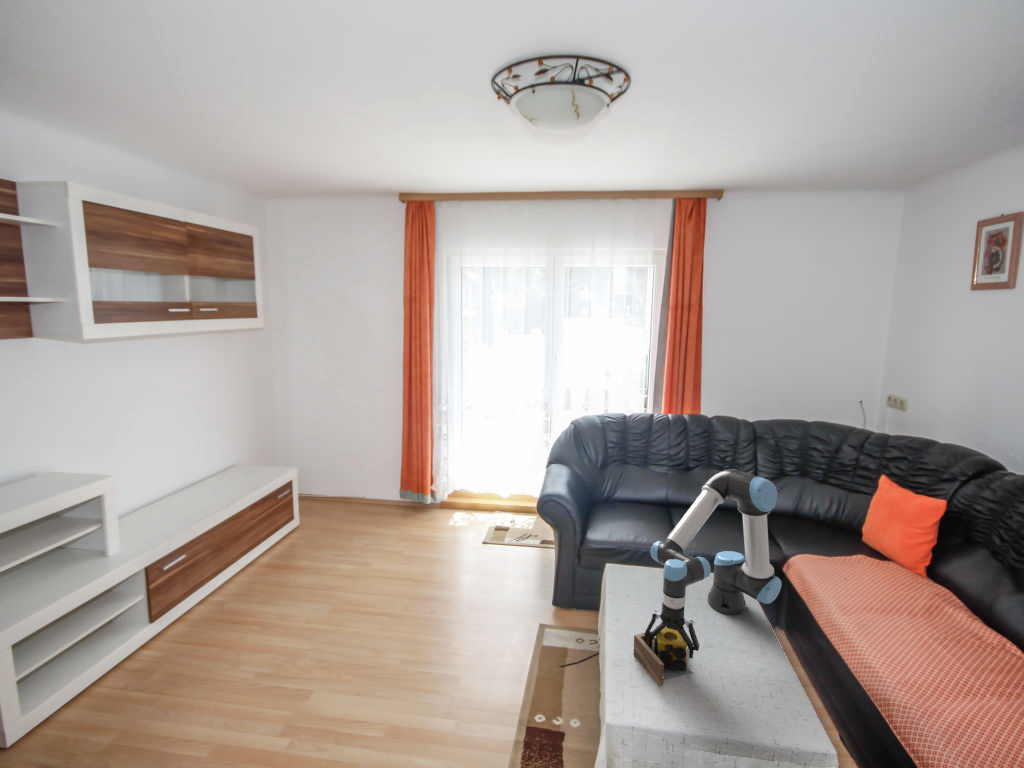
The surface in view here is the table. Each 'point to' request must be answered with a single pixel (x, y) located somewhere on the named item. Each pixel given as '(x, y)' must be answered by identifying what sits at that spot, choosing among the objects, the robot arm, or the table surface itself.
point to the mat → (675, 673)
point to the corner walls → (648, 658)
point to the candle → (671, 649)
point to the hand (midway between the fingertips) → (670, 659)
